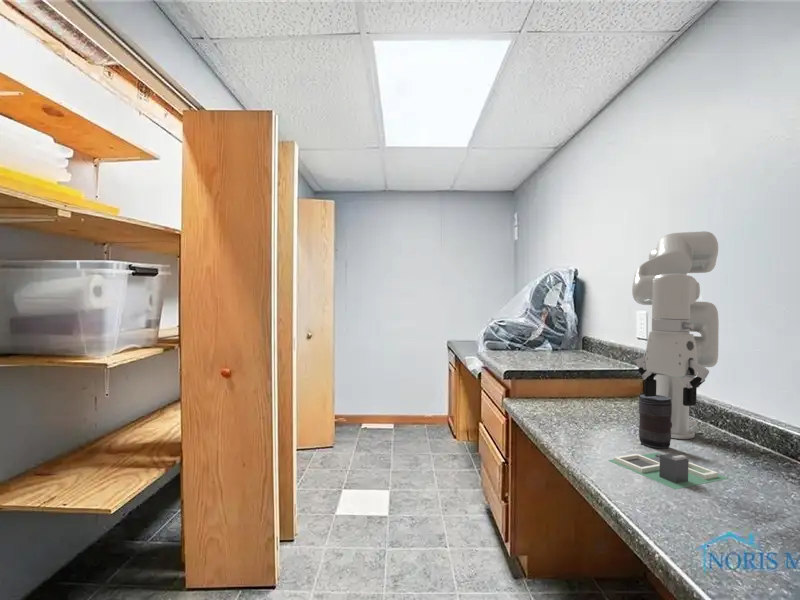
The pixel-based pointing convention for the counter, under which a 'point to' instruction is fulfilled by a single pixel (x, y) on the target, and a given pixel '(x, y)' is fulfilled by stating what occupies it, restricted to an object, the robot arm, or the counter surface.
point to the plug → (674, 468)
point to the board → (651, 468)
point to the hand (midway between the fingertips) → (668, 400)
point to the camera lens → (655, 421)
